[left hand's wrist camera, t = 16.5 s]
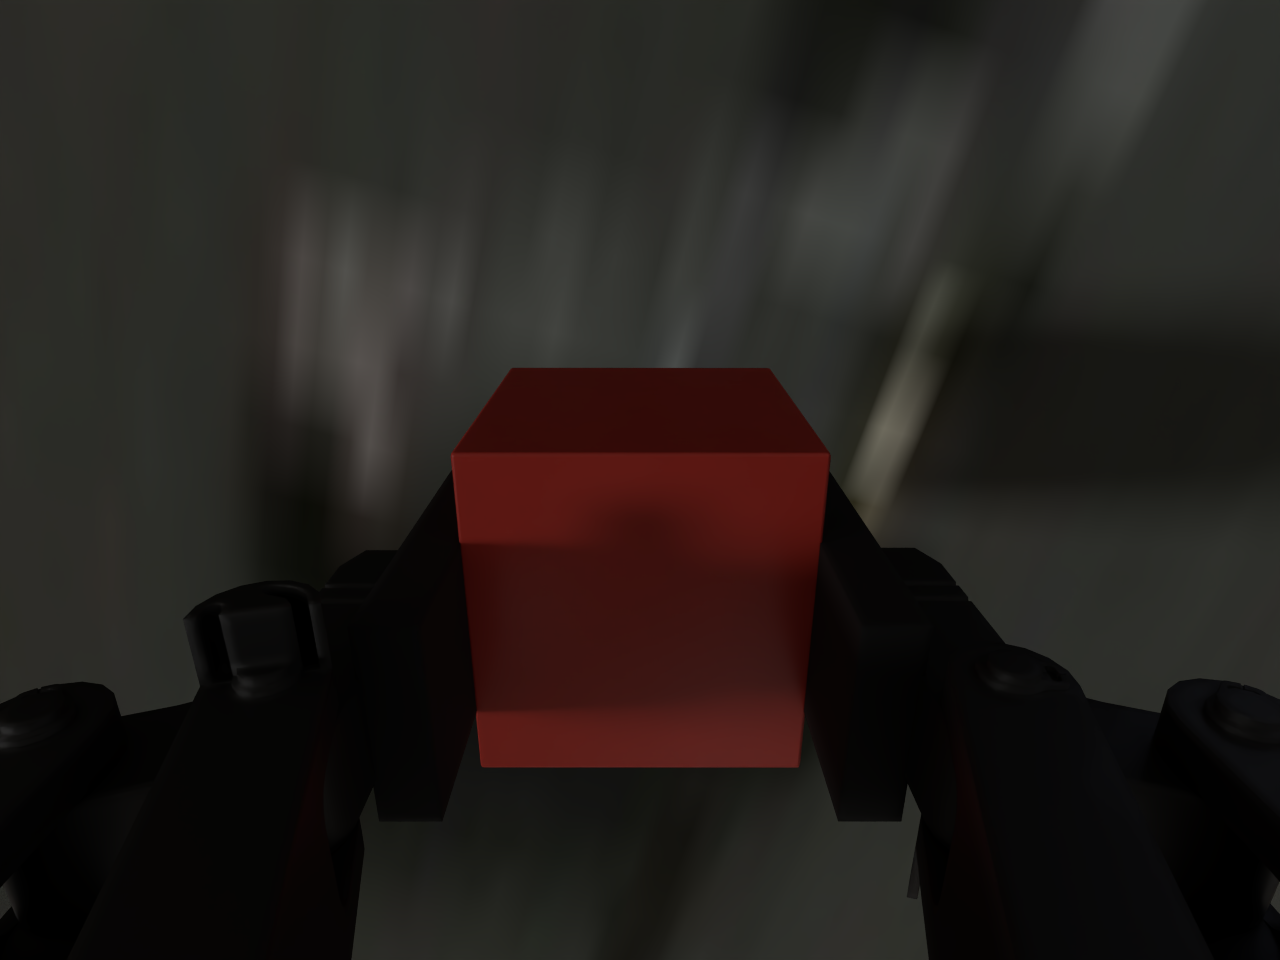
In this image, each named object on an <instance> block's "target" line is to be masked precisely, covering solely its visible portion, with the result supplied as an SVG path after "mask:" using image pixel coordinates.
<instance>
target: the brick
mask: <svg viewBox="0 0 1280 960" xmlns="http://www.w3.org/2000/svg"><path fill="white" fill-rule="evenodd" d="M830 459H831V455H830V453H829V451H828V450H827V448H826V447H825V446H824V444H823V443H822V441H821V440H820V439H819V437H818V436H817V434H816V433H815V432H814V430H813V429H812V427H811V426H810V425H809V423H808V422H807V420H806V419H805V418H804V416H803V415H802V413H801V412H800V410H799V409H798V408H797V406H796V405H795V403H794V402H793V401H792V399H791V398H790V396H789V395H788V394H787V392H786V391H785V389H784V388H783V387H782V385H781V384H780V382H779V381H778V380H777V378H776V377H775V375H774V374H773V373H772V371H771V370H770V369H769V368H512V369H511V370H510V371H509V372H508V374H507V375H506V377H505V378H504V379H503V381H502V382H501V384H500V385H499V387H498V388H497V389H496V391H495V392H494V394H493V395H492V397H491V398H490V399H489V401H488V402H487V404H486V405H485V406H484V408H483V409H482V411H481V412H480V414H479V415H478V416H477V418H476V419H475V421H474V422H473V423H472V425H471V426H470V428H469V429H468V431H467V432H466V433H465V435H464V436H463V438H462V439H461V440H460V442H459V443H458V445H457V446H456V448H455V449H454V450H453V452H452V454H451V463H452V473H453V483H454V493H455V504H456V514H457V524H458V534H459V542H460V546H461V556H462V566H463V576H464V586H465V597H466V607H467V617H468V627H469V637H470V648H471V658H472V668H473V678H474V688H475V698H476V709H477V712H476V718H477V729H478V739H479V749H480V759H481V765H482V767H799V765H800V758H801V748H802V738H803V728H804V718H805V713H804V704H805V694H806V684H807V673H808V663H809V653H810V643H811V633H812V623H813V613H814V603H815V592H816V582H817V572H818V562H819V552H820V543H822V539H823V529H824V519H825V509H826V499H827V489H828V479H829V469H830Z"/></svg>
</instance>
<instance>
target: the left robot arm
mask: <svg viewBox="0 0 1280 960" xmlns="http://www.w3.org/2000/svg"><path fill="white" fill-rule="evenodd" d="M183 621H184V625H185V629H186V633H187V637H188V641H189V644H190V648H191V652H192V656H193V660H194V664H195V668H196V672H197V676H198V679H199V683H200V688H199V690H198V692H197V694H196V696H195V698H194V700H193V702H189V703H185V704H181V705H177V706H172V707H167V708H162V709H157V710H152V711H146V712H141V713H136V714H131V715H126V716H121V715H120V711H119V708H118V705H117V702H116V698H115V695H114V693H113V692H112V691H110V690H109V689H108V688H106V687H105V686H104V685H102V684H95V683H88V682H75V683H66V684H54V685H49V686H44V687H41V689H38V688H36V689H33V690H30V691H27V692H24V693H21V694H19V695H18V696H17V697H15V698H13V699H10V700H8V701H6V702H3V703H1V704H0V887H1V886H2V885H3V887H4V889H5V891H6V894H7V896H8V899H9V901H10V903H11V908H10V909H9V910H8V911H7V912H6V913H5V914H4V916H3V917H2V918H1V919H0V960H351V958H352V949H353V941H354V933H355V924H356V916H357V907H358V899H359V891H360V882H361V874H362V865H363V857H364V843H363V836H362V830H361V824H360V819H359V817H360V815H361V812H362V810H363V808H364V806H365V803H366V801H367V799H368V797H369V795H370V792H371V790H372V788H373V787H374V793H375V799H376V805H377V811H378V817H379V821H442V820H443V817H444V814H445V811H446V808H447V804H448V801H449V798H450V795H451V792H452V788H453V785H454V782H455V779H456V776H457V772H458V769H459V766H460V763H461V760H462V756H463V753H464V750H465V747H466V744H467V741H468V737H469V734H470V731H471V728H472V725H473V721H474V718H475V715H476V712H477V709H476V698H475V688H474V678H473V668H472V658H471V648H470V637H469V627H468V617H467V607H466V597H465V586H464V576H463V566H462V556H461V546H460V542H459V534H458V524H457V514H456V504H455V493H454V483H453V473H452V471H451V472H450V474H449V475H448V477H447V478H446V480H445V481H444V483H443V484H442V486H441V487H440V488H439V490H438V491H437V493H436V494H435V496H434V497H433V499H432V500H431V502H430V503H429V505H428V506H427V508H426V509H425V511H424V512H423V514H422V515H421V517H420V518H419V520H418V521H417V523H416V524H415V526H414V527H413V529H412V530H411V532H410V533H409V535H408V536H407V538H406V539H405V541H404V542H403V544H402V545H401V547H400V548H399V550H366V551H364V552H362V553H361V554H359V555H357V556H356V557H354V558H353V559H351V560H349V561H348V562H346V563H344V564H343V565H341V566H340V567H339V568H338V569H337V570H336V572H335V573H334V574H333V575H332V577H331V578H330V579H329V580H328V582H327V583H326V584H325V588H322V589H321V590H320V592H318V591H317V590H316V589H314V588H313V587H311V586H310V585H309V584H305V583H300V582H295V581H290V580H289V581H264V582H259V583H253V584H248V585H243V586H239V587H236V588H233V589H231V590H228V591H225V592H222V593H219V594H216V595H215V596H213V597H211V598H209V599H207V600H206V601H204V602H202V603H200V604H199V605H197V606H195V607H194V608H193V609H192V611H191V612H190V613H189V614H188V615H187V616H186V617H185V618H184V619H183ZM804 713H805V717H806V720H807V723H808V726H809V729H810V733H811V736H812V739H813V742H814V745H815V749H816V752H817V755H818V758H819V761H820V764H821V768H822V771H823V774H824V777H825V780H826V784H827V787H828V790H829V793H830V796H831V800H832V803H833V806H834V809H835V812H836V816H837V819H838V821H901V820H902V814H903V808H904V802H905V796H906V790H907V784H908V785H909V787H910V790H911V792H912V794H913V796H914V798H915V801H916V803H917V805H918V807H919V810H920V812H921V819H920V824H919V830H918V836H917V841H916V847H915V852H914V858H913V864H912V869H911V875H910V881H909V887H908V894H907V897H909V898H913V899H917V897H918V891H919V886H920V889H921V897H922V906H923V914H924V922H925V931H926V939H927V948H928V956H929V960H1280V914H1279V913H1278V912H1277V911H1276V909H1275V908H1274V907H1273V906H1272V905H1271V904H1270V903H1271V900H1272V898H1273V896H1274V893H1275V891H1276V888H1277V886H1278V884H1279V881H1280V699H1277V698H1275V697H1273V696H1270V695H1268V694H1266V693H1265V692H1263V691H1262V690H1259V689H1257V688H1253V687H1250V686H1247V685H1244V686H1242V685H1241V684H1240V683H1235V682H1230V681H1219V680H1210V679H1200V678H1199V679H1192V680H1185V681H1179V682H1178V683H1176V684H1175V685H1173V686H1172V687H1171V688H1169V689H1168V691H1167V694H1166V697H1165V701H1164V704H1163V707H1162V710H1161V713H1157V712H1151V711H1146V710H1141V709H1136V708H1131V707H1125V706H1120V705H1115V704H1110V703H1105V702H1100V701H1096V700H1093V699H1089V698H1086V697H1085V695H1084V693H1083V691H1082V689H1081V687H1080V685H1079V684H1078V682H1077V681H1076V680H1075V679H1074V678H1073V676H1072V675H1071V674H1070V673H1069V671H1068V670H1066V669H1065V668H1063V667H1062V666H1060V665H1059V664H1057V663H1056V662H1054V661H1053V660H1051V659H1050V658H1048V657H1045V656H1043V655H1040V654H1038V653H1036V652H1033V651H1031V650H1028V649H1026V648H1022V647H1017V646H1013V645H1008V644H1005V643H1004V641H1003V640H1002V639H1001V638H1000V636H999V635H998V634H997V633H996V631H995V630H994V629H993V628H992V626H991V625H990V624H989V623H988V621H987V620H986V619H985V618H984V616H983V615H982V614H981V613H980V611H979V610H978V609H977V608H976V607H975V605H974V604H973V603H972V602H971V601H968V597H967V595H966V594H965V593H964V592H963V590H962V589H961V588H960V587H959V586H956V582H955V580H954V579H953V578H952V577H951V575H950V574H949V573H948V572H947V570H946V569H945V568H944V567H943V565H942V564H941V563H939V562H937V561H936V560H934V559H932V558H931V557H929V556H927V555H926V554H924V553H922V552H921V551H919V550H918V549H916V548H881V547H880V546H879V544H878V543H877V541H876V540H875V538H874V537H873V535H872V534H871V532H870V531H869V529H868V528H867V526H866V525H865V523H864V522H863V520H862V519H861V517H860V516H859V515H858V513H857V512H856V510H855V509H854V507H853V506H852V504H851V503H850V501H849V500H848V498H847V497H846V495H845V494H844V492H843V491H842V489H841V488H840V486H839V485H838V483H837V482H836V480H835V479H834V477H833V476H832V474H831V473H830V471H829V479H828V489H827V499H826V509H825V519H824V529H823V539H822V543H820V552H819V562H818V572H817V582H816V592H815V603H814V613H813V623H812V633H811V643H810V653H809V663H808V673H807V684H806V694H805V704H804Z"/></svg>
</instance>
